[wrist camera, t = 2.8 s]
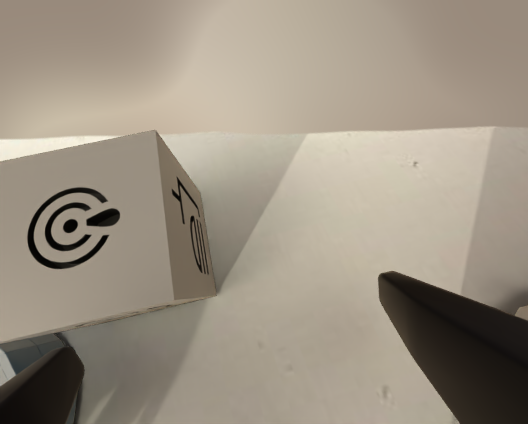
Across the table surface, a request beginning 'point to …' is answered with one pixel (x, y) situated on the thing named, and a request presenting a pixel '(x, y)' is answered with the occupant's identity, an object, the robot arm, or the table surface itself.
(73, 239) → the icon cube
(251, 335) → the table surface
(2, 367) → the blue pet bowl
